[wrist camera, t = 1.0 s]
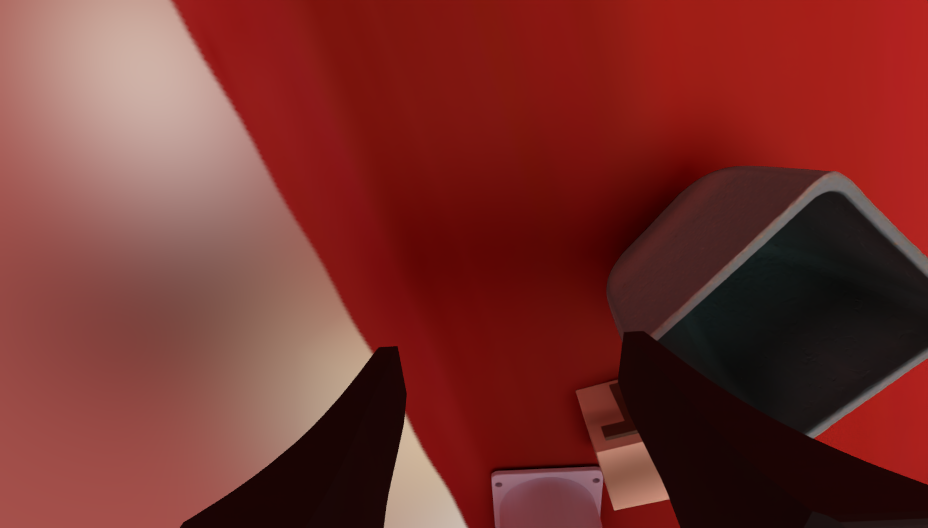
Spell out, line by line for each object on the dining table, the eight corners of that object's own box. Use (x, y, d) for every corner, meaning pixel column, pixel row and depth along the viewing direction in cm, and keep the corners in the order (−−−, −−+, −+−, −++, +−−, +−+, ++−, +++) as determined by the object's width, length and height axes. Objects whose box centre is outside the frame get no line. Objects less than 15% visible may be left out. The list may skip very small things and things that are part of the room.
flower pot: (688, 131, 20) (840, 164, 12) (799, 231, 22) (995, 318, 14) (568, 262, 23) (623, 361, 15) (676, 340, 25) (776, 465, 17)
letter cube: (663, 425, 28) (701, 492, 23) (591, 442, 29) (614, 510, 24) (651, 366, 26) (689, 427, 21) (574, 386, 27) (595, 449, 22)
